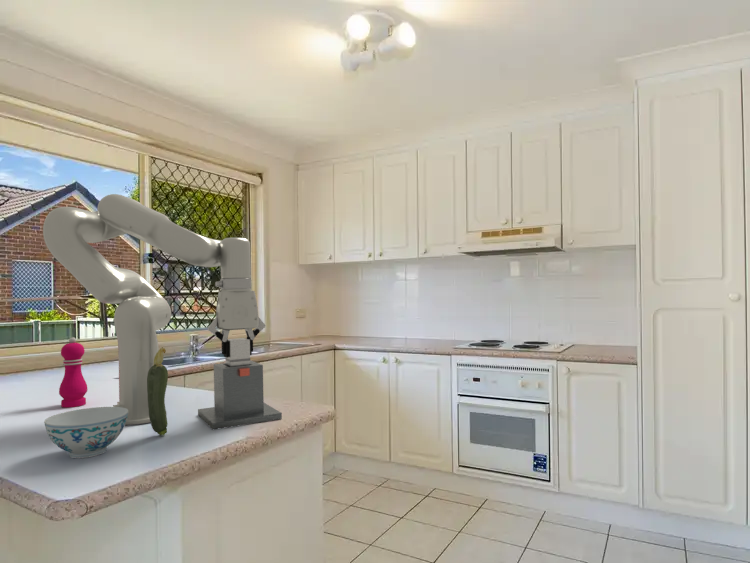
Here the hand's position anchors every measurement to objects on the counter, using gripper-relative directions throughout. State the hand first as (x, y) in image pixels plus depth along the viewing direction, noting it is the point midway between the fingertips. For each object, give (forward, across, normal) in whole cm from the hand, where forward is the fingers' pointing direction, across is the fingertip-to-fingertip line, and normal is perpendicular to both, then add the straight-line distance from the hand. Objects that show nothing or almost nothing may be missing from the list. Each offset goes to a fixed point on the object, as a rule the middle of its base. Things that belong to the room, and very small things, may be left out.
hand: (237, 355), depth 131 cm
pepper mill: (+16, -37, +43) cm, 59 cm away
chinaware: (+16, -34, -11) cm, 39 cm away
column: (+14, 0, 0) cm, 14 cm away
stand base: (+16, 0, 0) cm, 16 cm away
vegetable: (+16, -20, -6) cm, 26 cm away
